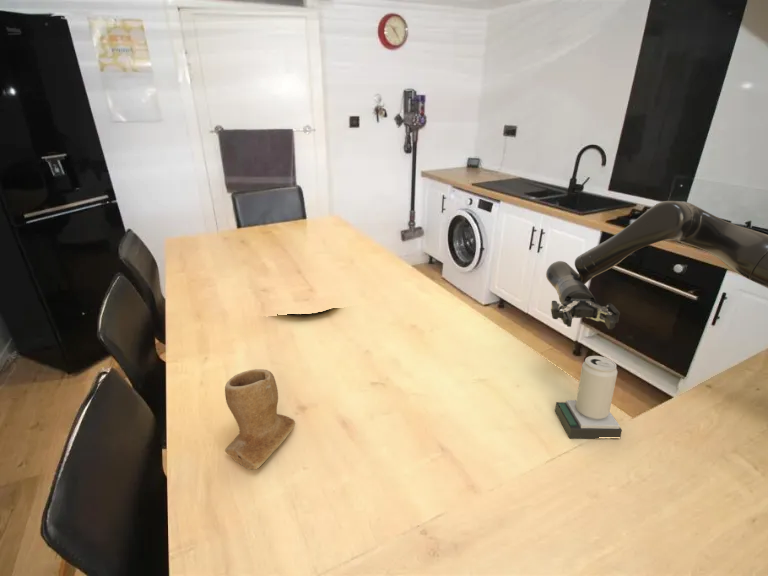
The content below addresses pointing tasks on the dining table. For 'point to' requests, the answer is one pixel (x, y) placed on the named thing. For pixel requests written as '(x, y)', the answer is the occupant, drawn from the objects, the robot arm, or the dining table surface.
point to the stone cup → (255, 417)
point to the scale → (585, 423)
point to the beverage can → (596, 387)
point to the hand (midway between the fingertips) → (590, 324)
